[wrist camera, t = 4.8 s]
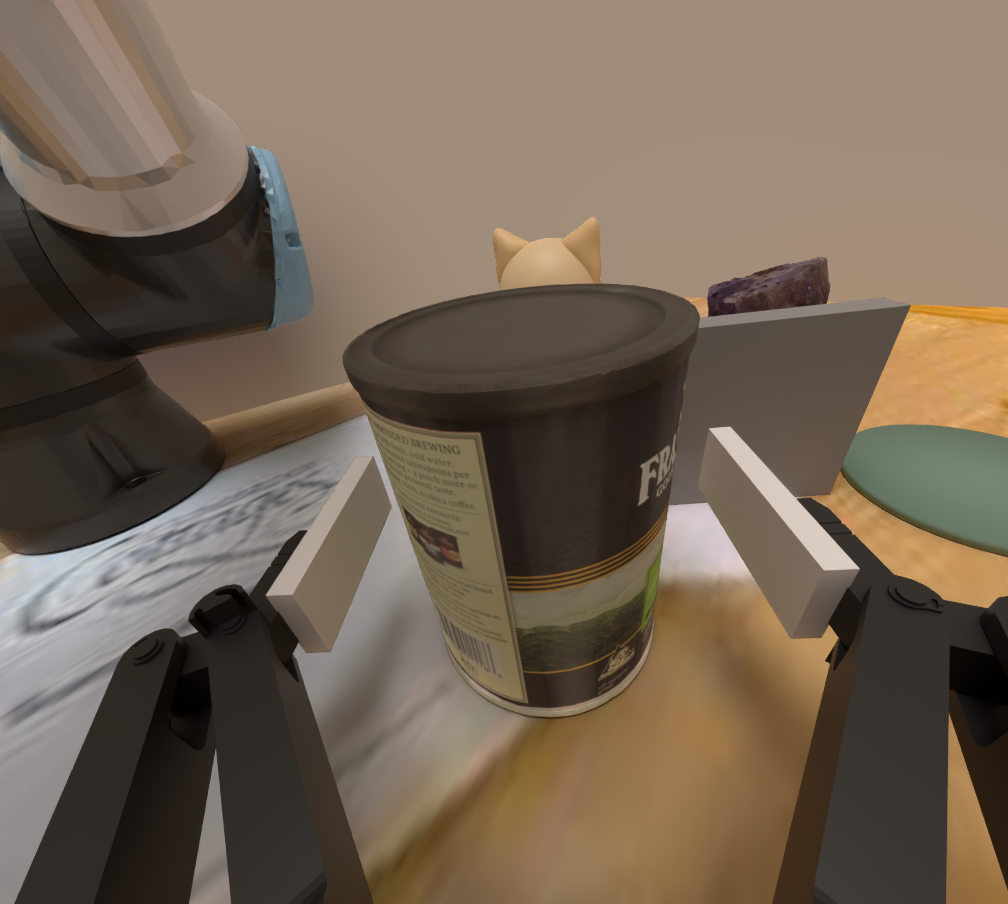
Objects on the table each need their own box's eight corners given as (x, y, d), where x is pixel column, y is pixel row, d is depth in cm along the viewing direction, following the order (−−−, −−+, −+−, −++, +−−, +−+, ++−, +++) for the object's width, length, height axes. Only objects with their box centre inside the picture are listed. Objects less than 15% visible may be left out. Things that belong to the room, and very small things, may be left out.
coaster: (792, 454, 27) (795, 447, 27) (936, 418, 28) (940, 410, 28) (1024, 595, 17) (1033, 586, 17) (1228, 528, 18) (1240, 518, 18)
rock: (703, 344, 50) (712, 372, 42) (701, 273, 46) (711, 289, 38) (815, 326, 45) (850, 354, 37) (824, 246, 41) (865, 258, 33)
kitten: (631, 356, 46) (640, 207, 38) (615, 392, 38) (622, 216, 30) (514, 353, 52) (500, 224, 44) (481, 384, 44) (457, 235, 36)
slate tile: (829, 494, 23) (911, 305, 17) (658, 506, 24) (680, 330, 18) (810, 476, 25) (879, 296, 19) (650, 488, 26) (668, 320, 20)
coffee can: (649, 540, 22) (680, 271, 14) (659, 750, 14) (743, 386, 6) (479, 522, 25) (430, 291, 17) (405, 687, 17) (252, 387, 9)
